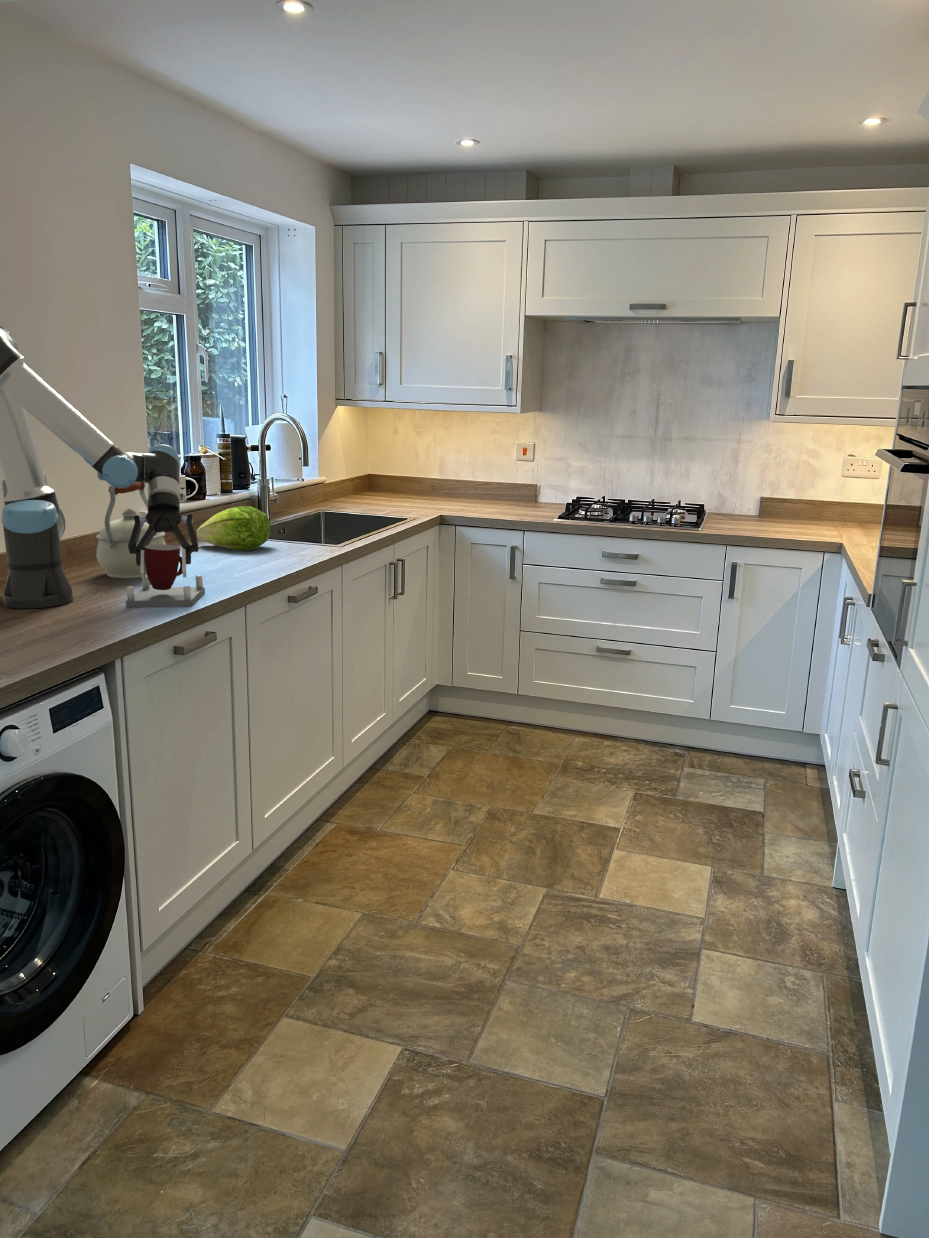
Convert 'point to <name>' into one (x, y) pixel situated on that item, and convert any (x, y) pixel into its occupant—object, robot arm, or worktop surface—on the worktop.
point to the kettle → (122, 538)
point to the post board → (165, 595)
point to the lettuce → (236, 529)
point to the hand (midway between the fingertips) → (163, 575)
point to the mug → (162, 565)
